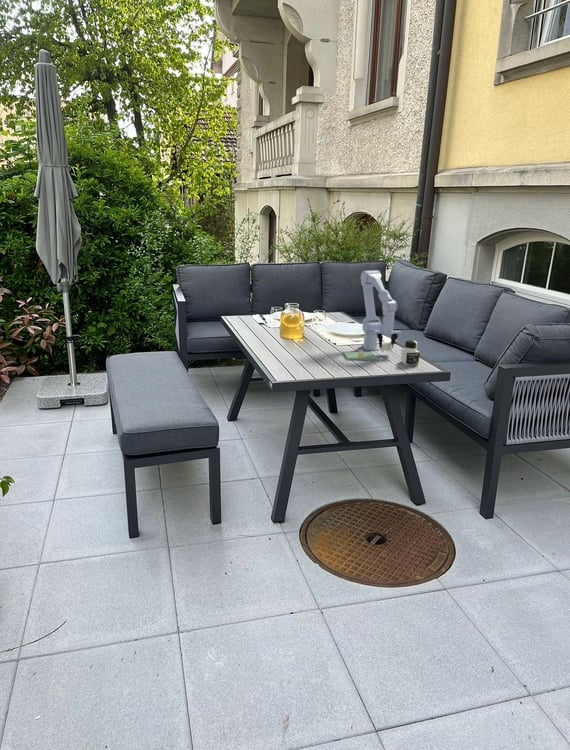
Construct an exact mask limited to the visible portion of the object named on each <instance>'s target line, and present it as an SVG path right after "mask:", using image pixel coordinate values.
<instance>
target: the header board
mask: <svg viewBox="0 0 570 750" xmlns="http://www.w3.org/2000/svg"><path fill="white" fill-rule="evenodd" d="M342 354H343V356H344V357H345V358H347V359H346V360H347V361H378V357H377V356H376V355H375V354H374V352H373V351H368V352H367V351H366V352H365V349H364V350H363V349H361V350H358V351H343V353H342Z"/></svg>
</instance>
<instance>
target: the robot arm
mask: <svg viewBox="0 0 570 750" xmlns="http://www.w3.org/2000/svg"><path fill="white" fill-rule="evenodd" d="M381 279H382V274H381V271H380V270H379V269H376V270H362V271H361V275H360V283H361V286H362V291H363V297H364V305H365V307H364V308H365V313H366V314H365V315H366V317H365V318H364V319H363V320H362V332H363V333H364V335H363V336H364V337H363V344H361V347H362V348H363V349H364V351H367V350H368V351H371V350H372V351H379V350H380V348H382V342H383V339H384V336H383V335H389V336H390V343H391V344H392V349H393V347H394V345H395V342H396V340H397V339H398V337H399V336H401V335H402V331H401V330H394V324H395V314H396V312H397V311H398V306H399V304H398V302H397V300H394V299H393V298H392V296H391V295H390V293H389V290H387V289H385V287H384V284H383V281H382V280H381ZM374 287H375V288H376V290H377V292H378V296H377V297H378V298H379V300H380V302H381V304H382V306H381V308H382V315H383V317H382V318H383V319H382V321H381V319H380V317H379V316H377V315H376V306H375V298H374V289H373V288H374ZM378 344H379V346H378Z"/></svg>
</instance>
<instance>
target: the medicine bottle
mask: <svg viewBox="0 0 570 750" xmlns="http://www.w3.org/2000/svg"><path fill="white" fill-rule="evenodd" d="M404 343H405V345H404V348H401V352H400V355H401V356H400V362H401V363H402V364H403V363H404V365H405V366H418V365H419V364H420V363H419V361H420V353H421V352H420V351H419V350H418V342H417V341H416V340H411V339H410V340H406V341H405V342H404ZM417 364H418V365H417Z"/></svg>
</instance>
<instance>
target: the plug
mask: <svg viewBox="0 0 570 750" xmlns="http://www.w3.org/2000/svg"><path fill="white" fill-rule="evenodd" d="M379 350H380V351H381V352H382V353H383V352H384V351H386V352H387V351H389V352H390V353H391V352H392V353H393V348H392V344H391V341H390V342H389V341H388V342H387V341H382V348H380V347H379Z"/></svg>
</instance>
